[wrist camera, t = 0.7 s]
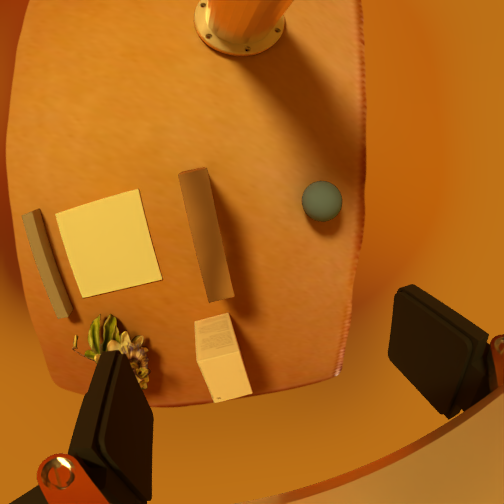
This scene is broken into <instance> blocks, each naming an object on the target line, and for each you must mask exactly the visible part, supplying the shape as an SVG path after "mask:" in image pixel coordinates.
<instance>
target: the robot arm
mask: <svg viewBox="0 0 504 504" xmlns="http://www.w3.org/2000/svg"><path fill="white" fill-rule="evenodd" d="M293 1H294V0H200V1H199V3H198V5H197V7H196V9H195V13H194V25H195V29H196V31H197V33H198V35H199V36H200V38H201V39H202V40H203V41H204V42H205V43H206V44H207V45H208V46H210V47H211V48H213V49H214V50H216V51H219V52H221V53H224V54H228V55H232V56H250V55H255V54H259V53H261V52H263V51H266V50H267V49H269V48H270V47H272V46H273V45H274V44H275V43H276V42H277V41H278V39H279V38H280V37H281V35H282V33H283V30H284V25H285V19H284V13H285V11H286V10H287V9H288V7H289V6H290V5H291V3H292V2H293ZM202 7H204V8H202ZM275 31H276V32H275ZM207 37H209V38H210V39H207ZM245 50H248V52H247V51H245ZM488 336H489V334H488V333H486V332H485V331H483V330H482V329H481V328H479V327H478V326H476V325H475V324H473V323H472V322H470V321H469V320H468V319H466V318H464V317H463V316H462V315H460V314H459V313H457V312H456V311H454V310H453V309H451V308H449V307H448V306H446V305H445V304H444V303H442V302H440V301H439V300H437V299H436V298H434V297H433V296H431V295H430V294H428V293H427V292H425V291H423V290H422V289H420V288H419V287H417V286H416V285H413V284H411V285H408V286H405V287H402V288H399V289H398V291H397V293H396V294H395V296H394V305H393V316H392V325H391V334H390V342H389V348H388V356H389V359H390V361H391V362H392V363H393V364H394V365H395V366H396V367H397V368H398V369H399V370H400V371H401V372H402V373H403V375H404V376H405V377H406V378H407V379H408V380H409V381H410V382H411V383H412V384H413V385H414V386H415V387H416V389H418V391H419V392H420V393H421V394H422V395H423V396H424V397H425V398H426V399H427V400H428V401H429V402H430V404H431V405H432V406H433V407H434V408H435V409H436V410H437V411H438V412H439V413H440V414H444V415H445V416H446V417H447V418H448V419H451V418H452V417H454V416H455V415H457V414H458V413H459V412H460V410H461V409H462V410H463V411H464V412H463V413H462V414H460V415H459V416H457V417H456V418H454V419H452V420H451V421H449V422H448V423H446V424H444V425H443V426H441V427H439V428H438V429H436V430H435V431H433V432H431V433H429V434H427V435H426V436H424V437H422V438H420V439H419V440H417V441H415V442H413V443H411V444H409V445H407V446H405V447H403V448H401V449H400V450H398V451H396V452H394V453H392V454H389V455H387V456H385V457H383V458H381V459H379V460H377V461H374V462H372V463H370V464H367V465H365V466H362V467H360V468H358V469H355V470H353V471H350V472H348V473H345V474H342V475H339V476H337V477H334V478H331V479H328V480H326V481H323V482H320V483H316V484H313V485H310V486H307V487H304V488H300V489H297V490H293V491H290V492H286V493H282V494H278V495H274V496H270V497H266V498H262V499H257V500H252V501H247V502H242V503H236V504H504V334H503V335H498V336H495V337H494V338H493V339H492V340H491V342H490V345H489V344H488V343H487V339H488ZM153 421H154V419H153V413H152V410H151V408H150V406H149V404H148V402H147V400H146V398H145V395H144V393H143V391H142V389H141V387H140V385H139V383H138V380H137V378H136V376H135V374H134V371H133V369H132V367H131V364H130V362H129V360H128V357H127V355H126V354H125V353H124V354H121V352H120V351H119V350H112V351H104V352H102V353H101V355H100V357H99V360H98V363H97V366H96V369H95V372H94V375H93V378H92V381H91V384H90V387H89V390H88V392H87V393H86V394H85V396H84V399H83V402H82V405H81V409H80V412H79V415H78V418H77V422H76V425H75V429H74V432H73V436H72V439H71V443H70V447H69V451H68V454H63V453H59V454H54V455H51V456H49V457H47V458H46V459H45V460H44V461H43V462H42V463H41V464H40V466H39V468H38V471H37V481H38V484H39V485H38V486H36V487H35V488H33V489H32V490H30V491H28V492H27V493H25V494H24V495H22V496H21V497H19V498H17V499H16V500H14V501H13V502H11V503H9V504H147V501H150V500H151V499H152V443H153Z"/></svg>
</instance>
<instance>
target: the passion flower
mask: <svg viewBox="0 0 504 504" xmlns="http://www.w3.org/2000/svg"><path fill="white" fill-rule="evenodd" d="M100 316H101V314H100V315H99V316H98V317H97V318H96V319H95V320H94V321H93V322H92V324H91V326H90V330H89V334H88V341H89V345H90V346H91V349H92V350H87V351H86V352H85V355H82V354H80V353H79V352H77V351H75V350H74V349H78V348H77V339H78V336H77V335H75V337H74V342H73V344H74V346H73V348H72V349H73V350H74V351H75V352H76V353H78V354H80V355H82V356H84V357H86V358H88V359H90V360H93V361H95V362H96V363H98V360H99V357H100V355H101V353H102V352H104V351H112V350H119V351H120V352H121V354H124V353H125V354H126V355H127V357H128V360H129V362H130V364H131V367H132V369H133V371H134V374H135V376H136V378H137V380H138V383H139V385H140V387H141V389H147V387H148V386H147V384H146V382H148V381H149V376H148V374H149V373H150V372H151V370H150V369H148V361H149V359H148V357H147V354H146V353H147V351H148V349H147V348H146V347H141V346H142V344H143V339H144V338H143V336H142V335H138V336H136V337H135V338H134V339H133V340H132V341H131V340H130V337H129V334H128V332H127V331H124V332H123V333H121V335H119V329H118V328H117V319H116V317H114V316H112V315H111V314H110V315H109V317H108V318H107V319H106V321H105V323H104V326H103V328H104V332H103V337H104V341H103V343H102V344H101V345H100V338H99V337H100V336H99V327H100Z"/></svg>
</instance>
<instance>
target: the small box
mask: <svg viewBox="0 0 504 504" xmlns="http://www.w3.org/2000/svg"><path fill="white" fill-rule="evenodd" d="M194 323H195V343H196V359H197V363H198V365H199V367H200V370H201V372H202V374H203V377H204V379H205V381H206V384H207V386H208V388H209V391H210V393H211V396H212V399H213V401H214V403H217V402H221V401H225V400H229V399H233V398H237V397H241V396H245V395H248V394H252V393H253V391H252V387H251V384H250V380H249V377H248V374H247V370H246V366H245V363H244V360H243V356H242V353H241V350H240V347H239V344H238V341H237V337H236V334H235V331H234V328H233V325H232V321H231V318H230V314H229V313H225V314H221V315H217V316H213V317H210V318H206V319H202V320H198V321H195V322H194Z"/></svg>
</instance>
